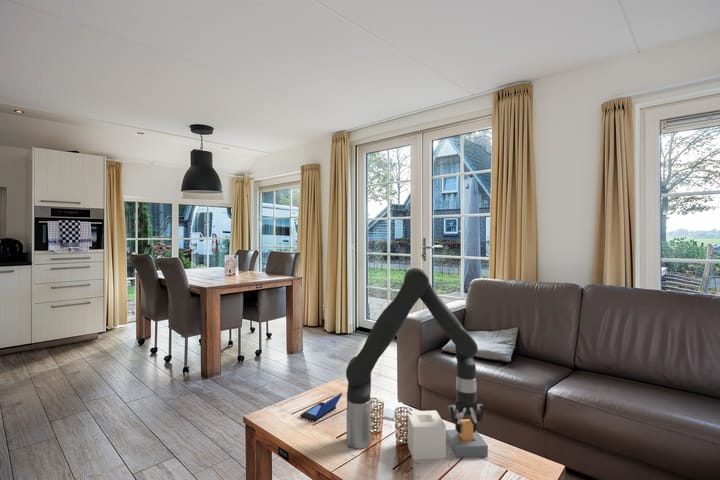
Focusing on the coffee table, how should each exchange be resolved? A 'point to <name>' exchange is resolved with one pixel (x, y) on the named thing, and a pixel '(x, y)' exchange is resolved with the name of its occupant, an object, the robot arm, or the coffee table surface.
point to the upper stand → (426, 435)
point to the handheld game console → (321, 409)
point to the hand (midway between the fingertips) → (465, 431)
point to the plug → (466, 431)
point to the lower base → (466, 445)
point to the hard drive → (389, 414)
